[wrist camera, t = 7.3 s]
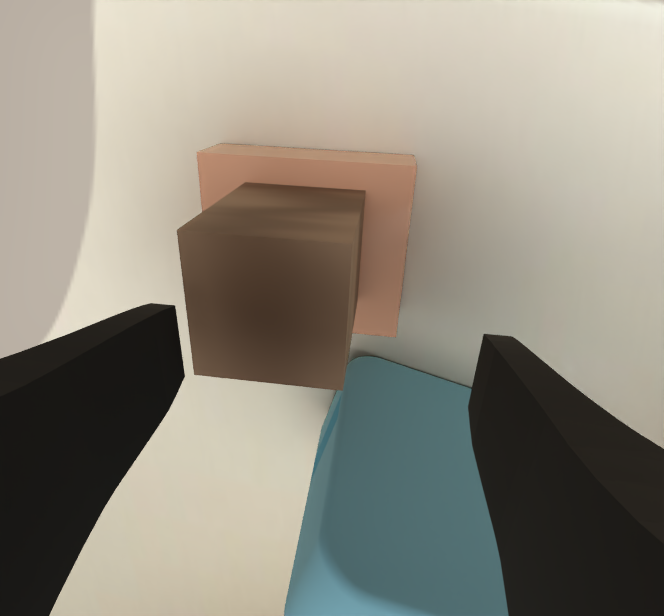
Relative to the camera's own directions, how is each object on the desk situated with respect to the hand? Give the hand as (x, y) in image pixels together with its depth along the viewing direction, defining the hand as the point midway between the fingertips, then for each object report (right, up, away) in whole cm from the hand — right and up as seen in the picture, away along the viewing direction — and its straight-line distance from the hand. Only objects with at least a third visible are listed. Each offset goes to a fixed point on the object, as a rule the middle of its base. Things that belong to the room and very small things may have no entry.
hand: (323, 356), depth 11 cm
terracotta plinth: (-1, +4, +9) cm, 10 cm away
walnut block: (-1, +4, +7) cm, 8 cm away
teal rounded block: (+6, -5, +13) cm, 15 cm away
